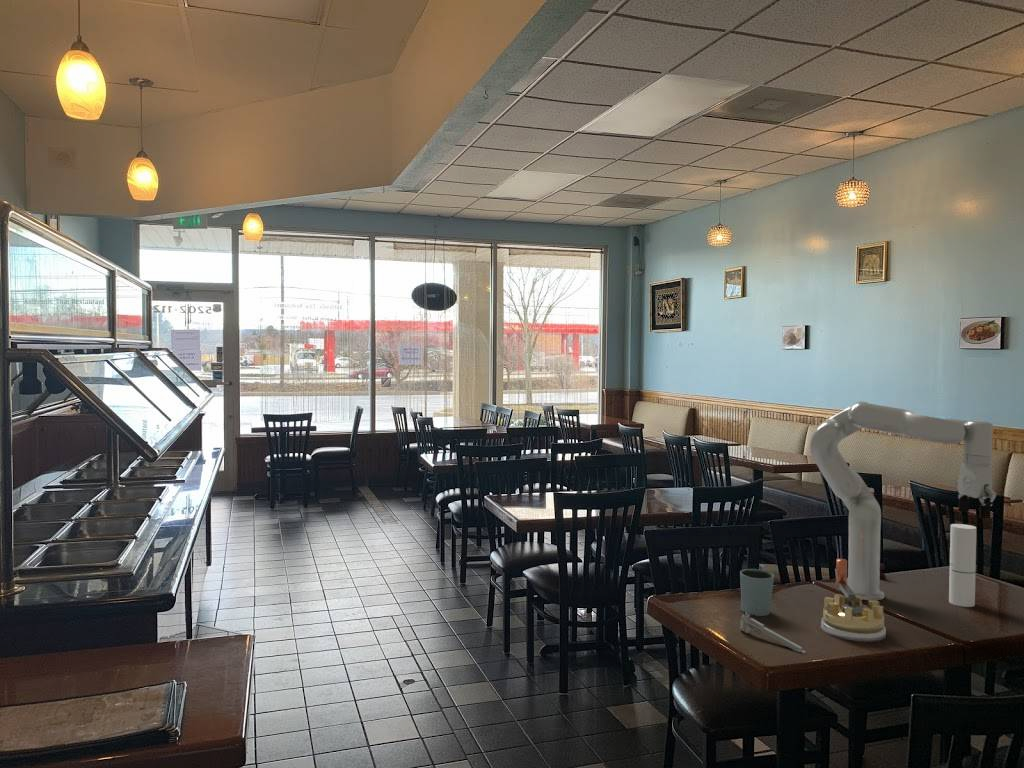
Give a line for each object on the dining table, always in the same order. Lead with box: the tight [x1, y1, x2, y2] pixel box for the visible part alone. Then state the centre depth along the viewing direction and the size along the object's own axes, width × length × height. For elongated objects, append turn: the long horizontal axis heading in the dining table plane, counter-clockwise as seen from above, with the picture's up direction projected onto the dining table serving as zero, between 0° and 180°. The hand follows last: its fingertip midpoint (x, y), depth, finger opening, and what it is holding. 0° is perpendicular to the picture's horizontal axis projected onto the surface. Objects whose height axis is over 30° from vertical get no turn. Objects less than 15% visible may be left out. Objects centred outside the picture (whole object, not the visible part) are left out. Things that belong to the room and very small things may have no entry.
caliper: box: [739, 612, 807, 655], centre depth 207 cm, size 20×1×6 cm, turn 36°
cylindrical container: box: [948, 523, 977, 608], centre depth 241 cm, size 7×7×25 cm
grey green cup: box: [739, 568, 775, 617], centre depth 232 cm, size 10×10×12 cm
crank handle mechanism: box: [822, 558, 885, 633], centre depth 219 cm, size 21×21×14 cm
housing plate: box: [820, 617, 887, 643], centre depth 216 cm, size 17×17×2 cm
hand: (973, 514), depth 235 cm, fingers open, 9 cm apart
